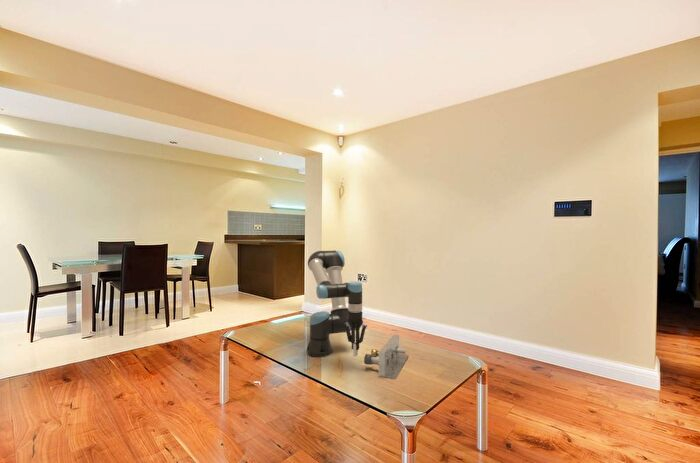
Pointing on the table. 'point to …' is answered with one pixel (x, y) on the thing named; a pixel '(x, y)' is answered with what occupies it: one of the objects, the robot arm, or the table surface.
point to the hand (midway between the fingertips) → (355, 355)
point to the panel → (391, 359)
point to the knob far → (400, 350)
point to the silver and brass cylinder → (374, 353)
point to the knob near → (370, 359)
